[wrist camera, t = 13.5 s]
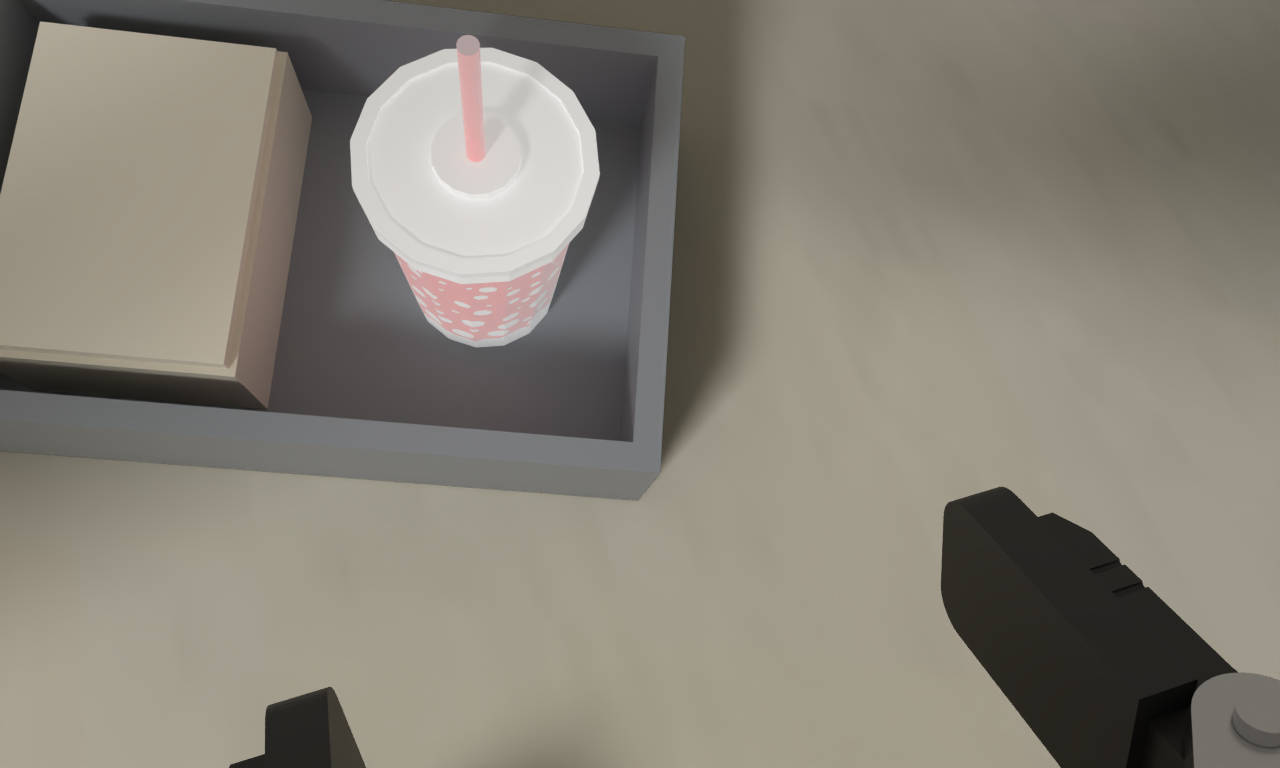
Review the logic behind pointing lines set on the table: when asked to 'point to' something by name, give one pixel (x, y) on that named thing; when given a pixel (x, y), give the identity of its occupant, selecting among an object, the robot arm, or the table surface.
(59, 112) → the beige rectangular block
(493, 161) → the beverage cup
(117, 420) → the tray
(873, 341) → the table surface
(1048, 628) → the robot arm
